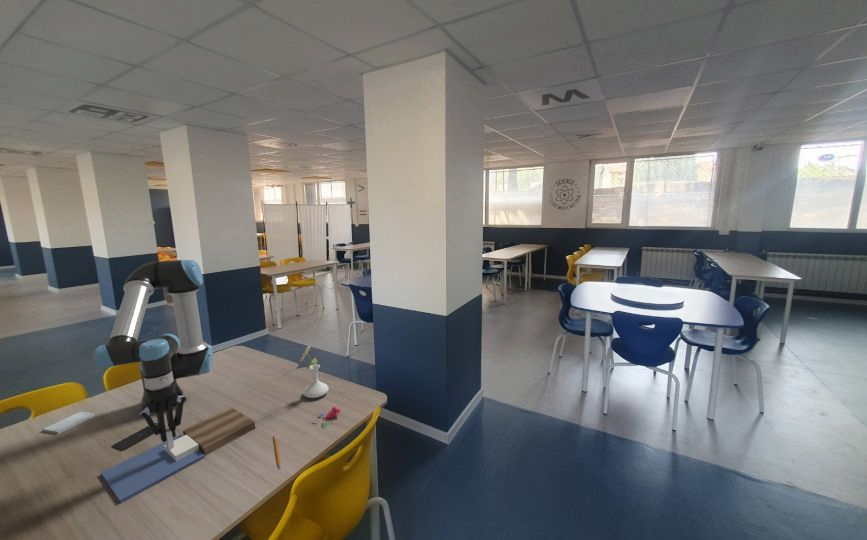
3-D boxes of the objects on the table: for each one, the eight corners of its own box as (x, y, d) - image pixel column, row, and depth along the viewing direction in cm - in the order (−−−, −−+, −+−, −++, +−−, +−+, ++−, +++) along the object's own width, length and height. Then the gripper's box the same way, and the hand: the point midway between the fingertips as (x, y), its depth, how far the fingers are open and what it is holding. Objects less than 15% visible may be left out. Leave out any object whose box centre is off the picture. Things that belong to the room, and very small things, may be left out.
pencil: (272, 437, 129) (277, 469, 112) (274, 434, 129) (278, 467, 112) (275, 437, 129) (280, 470, 113) (276, 435, 129) (281, 467, 113)
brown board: (183, 437, 129) (182, 430, 128) (232, 413, 144) (231, 407, 143) (205, 455, 119) (204, 447, 119) (255, 428, 134) (254, 421, 133)
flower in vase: (314, 385, 166) (311, 338, 162) (333, 390, 162) (330, 341, 158) (295, 399, 154) (290, 348, 150) (315, 404, 150) (311, 351, 146)
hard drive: (57, 431, 131) (94, 413, 143) (41, 429, 133) (79, 410, 145) (58, 435, 132) (95, 416, 144) (42, 432, 133) (80, 414, 145)
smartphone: (109, 445, 124) (154, 421, 138) (110, 447, 124) (154, 423, 138) (122, 450, 122) (166, 425, 135) (123, 452, 122) (167, 427, 136)
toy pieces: (327, 408, 147) (326, 399, 147) (344, 417, 141) (344, 407, 140) (303, 422, 138) (302, 413, 137) (320, 432, 131) (319, 422, 131)
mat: (101, 474, 111) (100, 472, 111) (181, 436, 129) (180, 434, 129) (120, 503, 100) (120, 500, 100) (204, 457, 118) (204, 454, 118)
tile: (164, 450, 120) (163, 445, 120) (187, 439, 126) (186, 434, 126) (176, 461, 115) (175, 456, 115) (199, 449, 121) (198, 444, 120)
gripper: (139, 397, 106) (151, 463, 110) (187, 380, 117) (195, 440, 121) (131, 390, 110) (142, 454, 114) (178, 374, 121) (187, 433, 125)
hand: (170, 447), depth 118 cm, fingers closed
